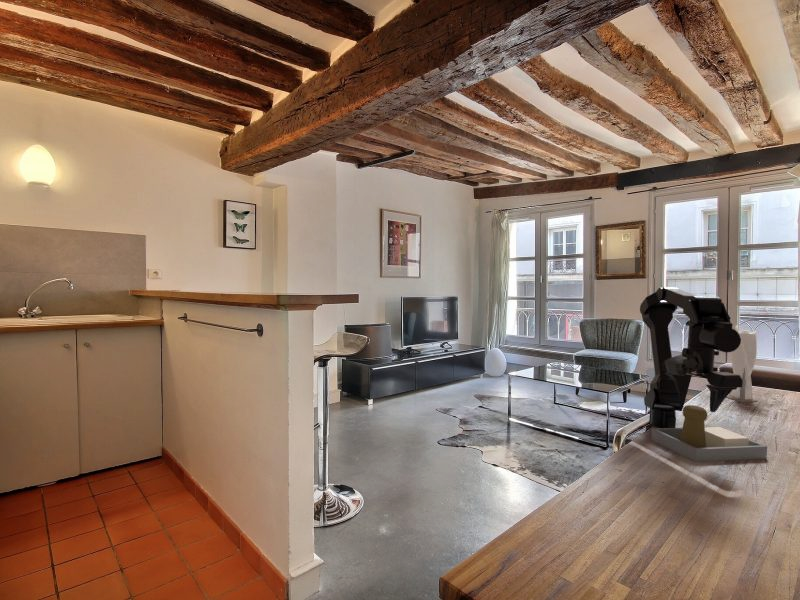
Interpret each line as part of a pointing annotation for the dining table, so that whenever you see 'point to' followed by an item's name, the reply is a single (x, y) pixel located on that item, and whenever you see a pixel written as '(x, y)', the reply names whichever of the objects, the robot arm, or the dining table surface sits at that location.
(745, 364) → the skyscraper
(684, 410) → the olive tall rounded piece
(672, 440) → the tray
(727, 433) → the cream beveled block
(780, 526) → the dining table surface
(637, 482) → the dining table surface
